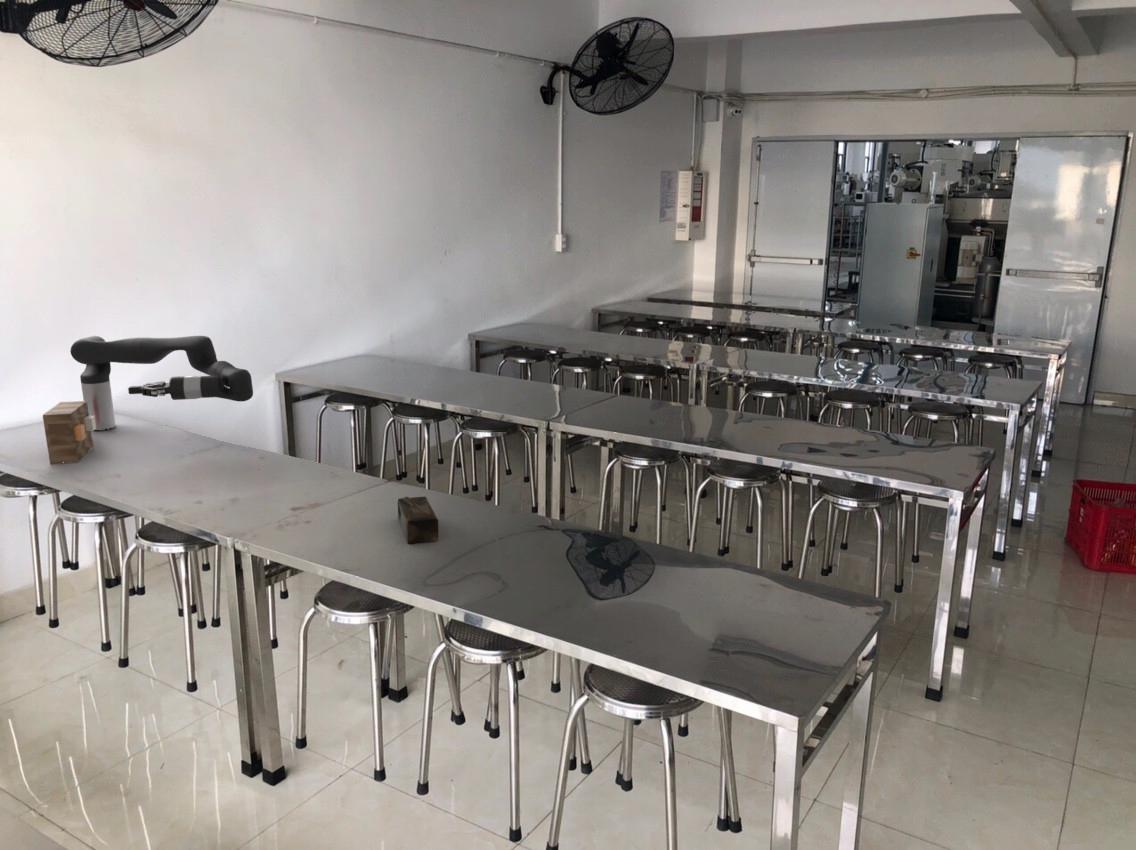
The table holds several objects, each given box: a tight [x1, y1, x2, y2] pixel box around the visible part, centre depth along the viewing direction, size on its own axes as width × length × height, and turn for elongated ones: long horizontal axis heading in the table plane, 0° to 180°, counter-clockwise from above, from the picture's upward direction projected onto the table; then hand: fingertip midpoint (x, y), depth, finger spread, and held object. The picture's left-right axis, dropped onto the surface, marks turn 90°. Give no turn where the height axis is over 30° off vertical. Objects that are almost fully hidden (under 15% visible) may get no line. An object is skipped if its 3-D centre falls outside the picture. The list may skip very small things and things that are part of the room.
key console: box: [42, 400, 94, 464], centre depth 290 cm, size 18×8×16 cm, turn 13°
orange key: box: [74, 424, 86, 441], centre depth 285 cm, size 4×5×4 cm
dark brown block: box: [397, 496, 439, 545], centre depth 228 cm, size 8×19×7 cm, turn 18°
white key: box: [84, 416, 96, 432], centre depth 296 cm, size 4×5×4 cm
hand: (129, 390), depth 286 cm, fingers closed
